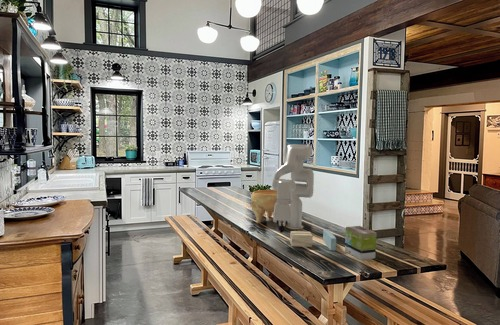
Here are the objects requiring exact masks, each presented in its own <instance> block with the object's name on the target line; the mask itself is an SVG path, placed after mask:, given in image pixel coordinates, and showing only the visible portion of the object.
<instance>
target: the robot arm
mask: <svg viewBox="0 0 500 325" xmlns="http://www.w3.org/2000/svg"><path fill="white" fill-rule="evenodd" d="M312 148H313V147H312V146H311V145H310V144H297V143H296V144H294V143H293V144H291V143H290V144H288V145H287V146H286V154H285V157H284V162H283V165H282V166H281V167H279V168H278V169H277V170H276V171H275V173H274V175H273V179H272V184H271V185H272V190H275V191H277V203H275V206H274V212H273V214H272V216H273V219H272V222H273V223H277V225H278V231H279V232H280V233H282V234H283V233H284V231H285V228H287V229H290V230H303V229H304V225H303V224H302V220H303V219H302V217H303V201H302V199H301V198H305V199H307V198H309V199H310V198H312V197H313V195H314V180H315V178H314V176H315V175H314V174H315V173H314V171H313V169H311V168H304V161H308V160H309V158H311V156H312V153H313V149H312ZM288 174H290V178H291V179H285V178H283V179H282V178H281V177H283V176H284V175H288ZM281 222H282V223H281Z"/></svg>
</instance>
